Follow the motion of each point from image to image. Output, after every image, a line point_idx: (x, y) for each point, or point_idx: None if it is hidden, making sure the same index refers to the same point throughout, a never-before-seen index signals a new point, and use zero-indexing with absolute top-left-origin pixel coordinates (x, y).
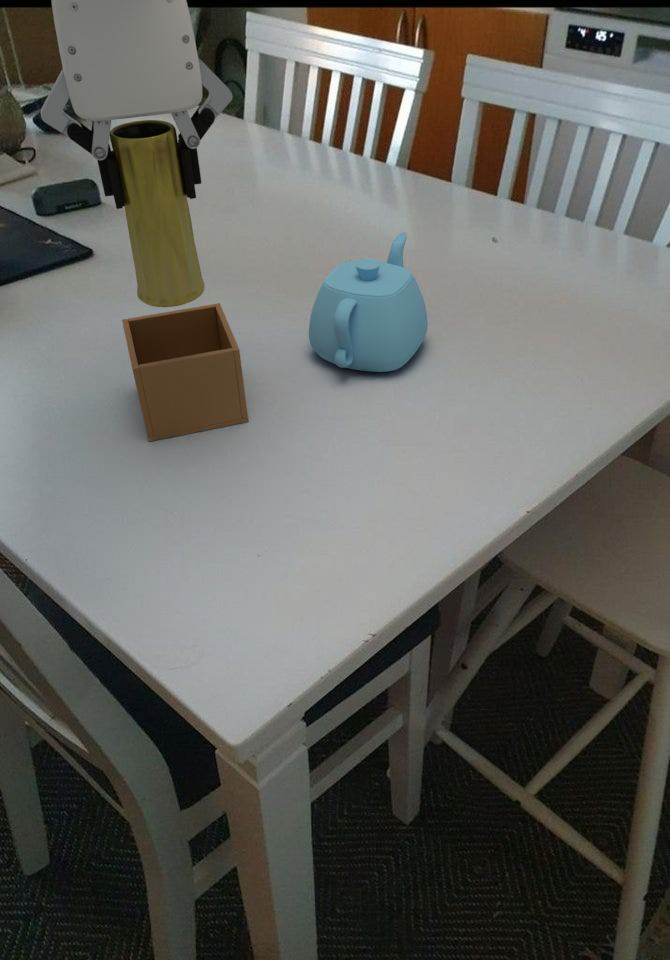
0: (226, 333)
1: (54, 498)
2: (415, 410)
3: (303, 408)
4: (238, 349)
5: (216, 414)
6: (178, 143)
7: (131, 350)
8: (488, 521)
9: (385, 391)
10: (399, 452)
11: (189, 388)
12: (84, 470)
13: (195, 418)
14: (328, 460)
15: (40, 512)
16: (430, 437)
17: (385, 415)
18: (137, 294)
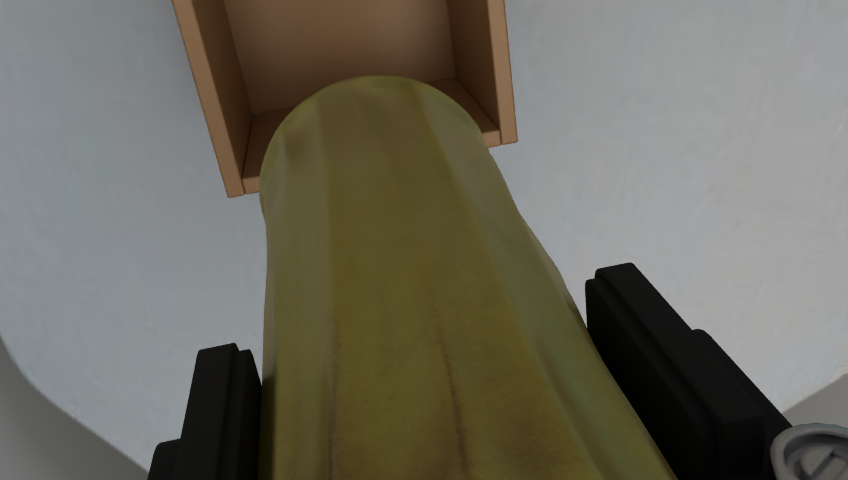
0: (491, 44)
1: (73, 282)
2: (812, 97)
3: (595, 49)
4: (515, 141)
5: None
6: (712, 454)
7: (208, 100)
8: (784, 389)
9: (785, 11)
10: (730, 225)
11: None
12: (113, 205)
13: None
14: (602, 232)
15: (57, 316)
16: (799, 189)
17: (750, 105)
18: (264, 217)
